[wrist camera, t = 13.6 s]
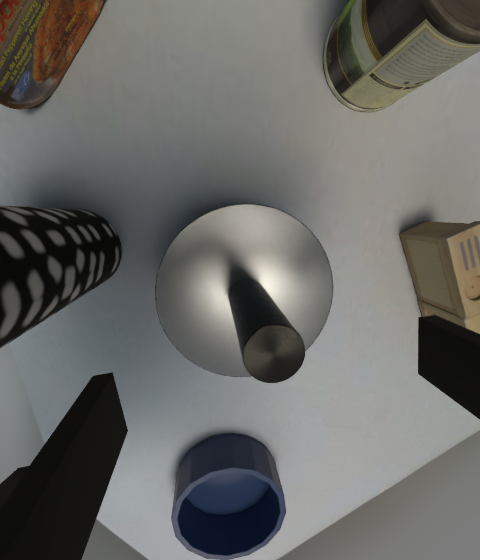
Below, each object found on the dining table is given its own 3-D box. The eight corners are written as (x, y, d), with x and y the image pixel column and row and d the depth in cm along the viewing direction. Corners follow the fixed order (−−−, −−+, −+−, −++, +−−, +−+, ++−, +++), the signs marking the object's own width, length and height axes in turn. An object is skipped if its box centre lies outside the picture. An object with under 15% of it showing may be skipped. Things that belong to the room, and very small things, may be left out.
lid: (175, 383, 26) (151, 506, 15) (140, 217, 22) (76, 220, 11) (332, 355, 27) (417, 451, 16) (322, 192, 23) (420, 174, 12)
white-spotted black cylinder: (89, 193, 30) (-127, 155, 11) (137, 261, 32) (28, 333, 13) (22, 235, 30) (-311, 272, 11) (73, 300, 32) (-130, 429, 13)
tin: (36, 123, 28) (-35, 85, 20) (4, 100, 28) (-82, 52, 19) (120, -19, 26) (81, -123, 18) (89, -47, 26) (33, -168, 18)
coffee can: (301, 62, 29) (382, -71, 16) (371, -26, 28) (523, -250, 15) (368, 135, 32) (489, 75, 18) (435, 56, 31) (618, -71, 17)
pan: (186, 524, 41) (183, 570, 35) (168, 444, 38) (162, 482, 32) (280, 504, 42) (290, 545, 36) (269, 425, 39) (279, 458, 33)
